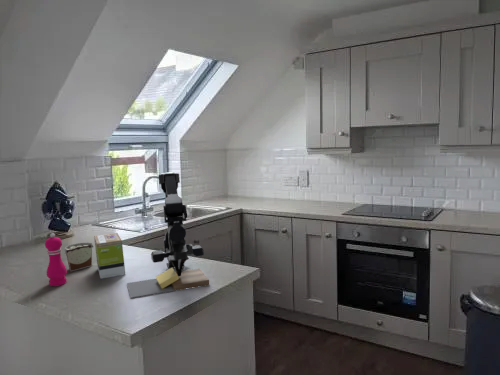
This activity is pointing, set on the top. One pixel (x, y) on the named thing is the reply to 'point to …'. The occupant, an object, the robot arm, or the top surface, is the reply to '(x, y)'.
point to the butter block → (167, 278)
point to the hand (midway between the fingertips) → (179, 275)
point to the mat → (147, 288)
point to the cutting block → (190, 279)
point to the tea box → (109, 255)
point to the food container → (79, 255)
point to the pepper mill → (55, 261)
